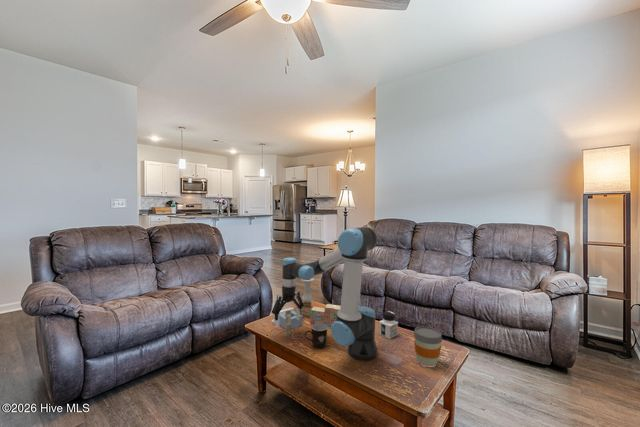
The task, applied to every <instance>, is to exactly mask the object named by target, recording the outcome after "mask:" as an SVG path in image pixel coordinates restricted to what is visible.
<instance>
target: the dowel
mask: <svg viewBox="0 0 640 427" xmlns="http://www.w3.org/2000/svg"><path fill="white" fill-rule="evenodd" d="M291 330H292V329H291V311H286V327H285V330H284V331H285V333H284V334H285V336H284V337H285V338H290V337H292V336H291V335H292V332H291Z"/></svg>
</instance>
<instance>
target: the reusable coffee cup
mask: <svg viewBox="0 0 640 427" xmlns="http://www.w3.org/2000/svg"><path fill="white" fill-rule="evenodd" d="M413 333H414V334H413V336H414V341H413V342H414V351H415V353H416V354H415V355H416V362H417V361H418V362H419V363H420V364H422V365H426V366H435V365H436V364H437V365H438V359H439V357H440V355H441V354H440V353H441V350H442V349H441V348H442V345H441V343H442V341H443V338H442V337H443V336H442V333H441V331H440V330H439V329H437V328H433V327H430V326H417V327H415V328H414V332H413ZM418 362H417V363H418ZM419 363H418V364H419ZM420 364H419V365H420Z"/></svg>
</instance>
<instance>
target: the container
mask: <svg viewBox="0 0 640 427" xmlns="http://www.w3.org/2000/svg"><path fill="white" fill-rule="evenodd" d="M395 317H396V315H395V313H394V312H392V311H389V310H388V311H387V310H386V311H384V312H383V313H382V320H379V324H378V325H379V326H378V334H379V335H380V336H383V337H385V338H387V339H392V338H395V337H397V336H398V333H399V332H398V330H399V322H398V321H396V320H395V319H396V318H395Z"/></svg>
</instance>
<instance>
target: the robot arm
mask: <svg viewBox="0 0 640 427" xmlns="http://www.w3.org/2000/svg"><path fill="white" fill-rule="evenodd" d="M378 238H379V237H378V235H377V232H376V231H375V229H372V228H371V227H368V226H362V227H361V226H360V227H351V228H347V229H344V230H343V231H342V232H341V233H340V234H339V236H338V238H337V247H338V248H335V250H332V251H331V252H329V253H328V254H326V255H324V256H322V257H320V258H318V259H317V260H315V261H313V262H312V261H311V262H307V263H297V258H296V257H285V258H283V259H282V276H281V277H282V281H281V283H282V286H281V293H282V294H281V295H277V296H276V299H275V303H274V305H273V307H272V310H271V314H272V315H273V316H274V315H275V320H276V325H275V326H277V327H280V325H279V324H280V314H279V312H280V311H281V310H283V307H284V306H285V305H286V304H288V303H293V304H294V305H295V306H296V307H295V312H296V319H297V320H300V313H301V309H302V307H303V306H304V304H303V302H304V301H303V300H302V297H301V294H300V292H299V291H297V289H296V283H297V280H296V278H298V279H299V280H300V279H302V280H310V279H311V278H314V276H317V275H322V274H325V273H327V272H328V271H329V270H330V269H332V268H334V267H336V266H338V265H340V264H341V263H343V273H342V283H341V284H342V285H341V299H340V306H341V308H340V310H339V311H338V312H337V317H336V321H335V322H334V323H333V324H332V326H331V328H330V332H331V333H330V334H331V336H332V337H333V340H334V341H335V342H336V343H337V344H338V345H339V346H342V347H347V354H348V355H349V356H350V357H351V358H353V359H354V360H358V361H365V362H366V361H372V360H374V359H376V358H378V353H379V350H378V347H377V344H376V338H375V337H376V336H375V335H376V311H375V310H374V309H373V308H371V307H369V306H364V305H360V303H361V302H360V300H361V288H362V279H363V278H362V276H363V267H364V266H363V265H364V262H365V261H366V260H367V259H368V252H370V251H372V250H373V249H374V248H376V246H377V245H378ZM295 297H296V298H295Z"/></svg>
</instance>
